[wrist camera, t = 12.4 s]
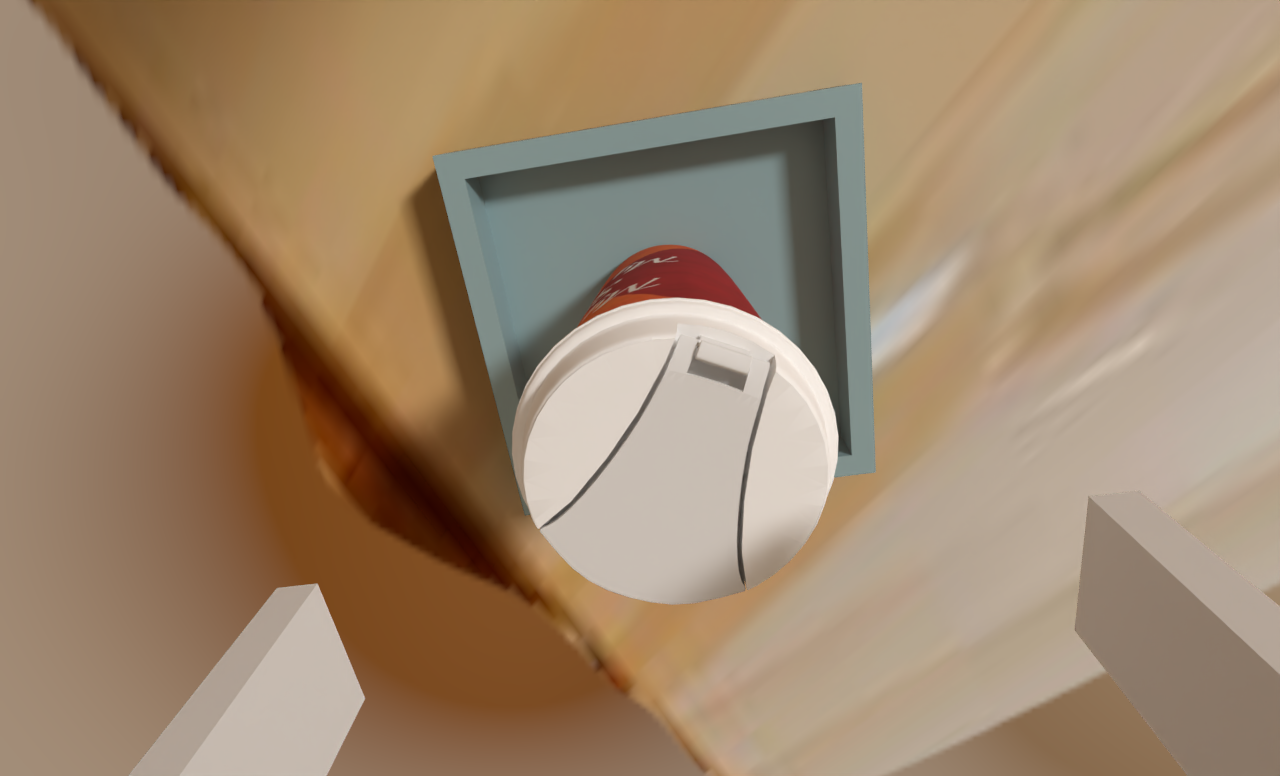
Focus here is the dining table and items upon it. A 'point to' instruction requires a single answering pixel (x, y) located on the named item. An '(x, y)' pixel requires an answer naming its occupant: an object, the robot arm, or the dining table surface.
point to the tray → (677, 233)
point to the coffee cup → (675, 436)
